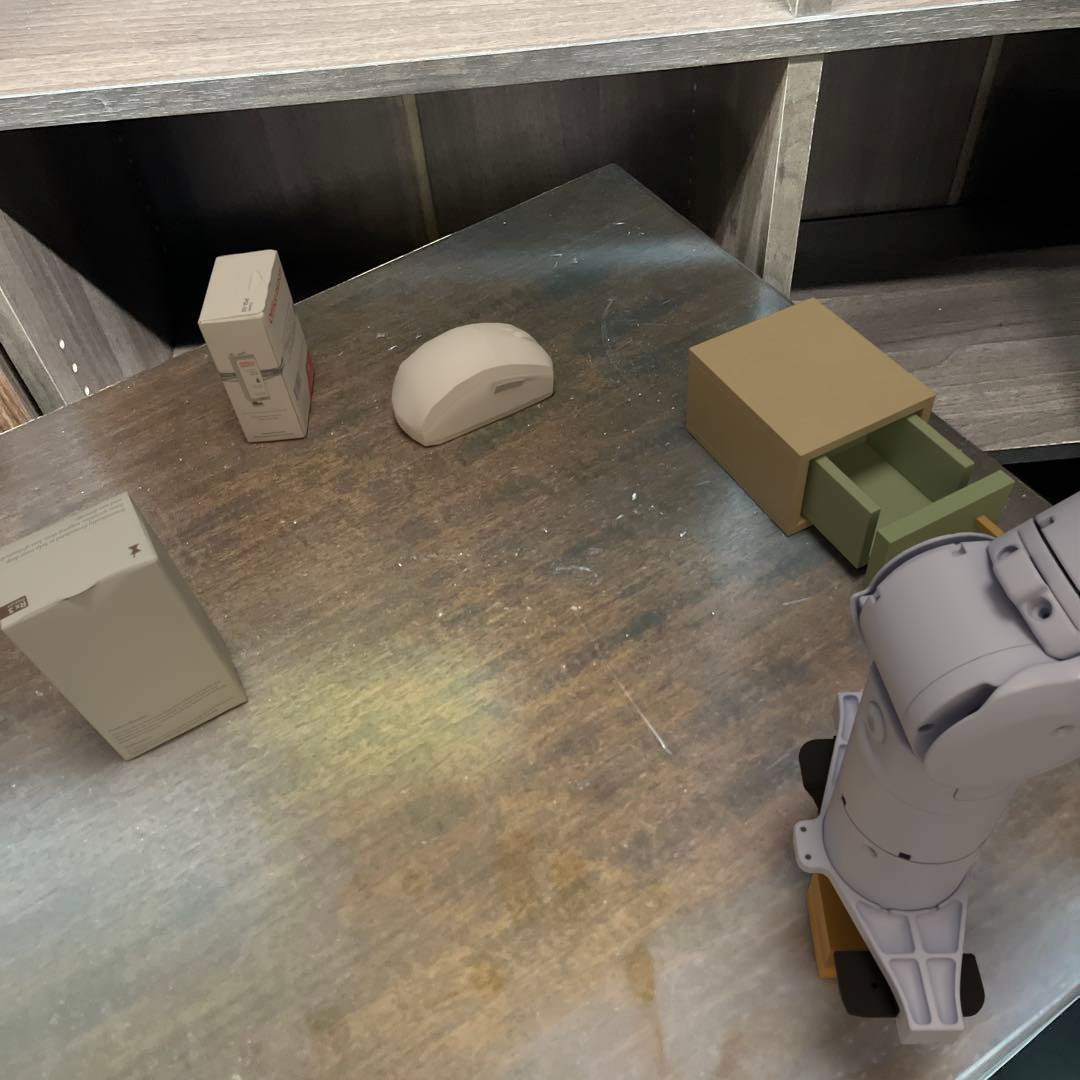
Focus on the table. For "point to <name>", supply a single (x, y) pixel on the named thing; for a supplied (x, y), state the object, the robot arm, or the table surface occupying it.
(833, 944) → the block
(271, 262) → the ink box
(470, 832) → the table surface
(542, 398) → the computer mouse
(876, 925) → the robot arm
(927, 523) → the drawer
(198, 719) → the cosmetic box
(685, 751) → the table surface
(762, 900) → the table surface
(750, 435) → the cabinet
